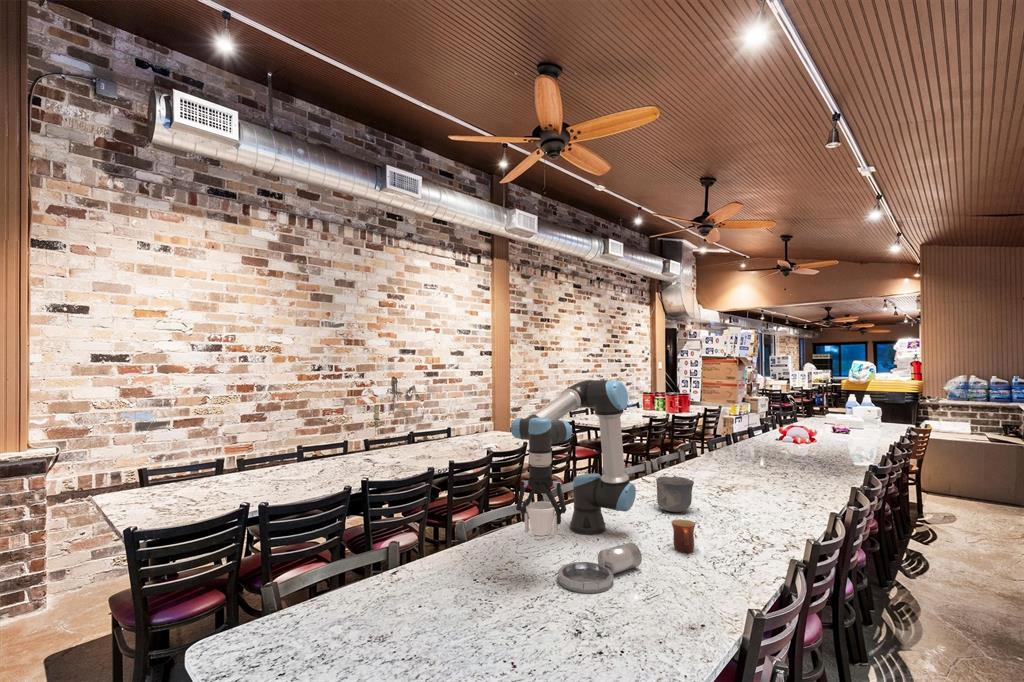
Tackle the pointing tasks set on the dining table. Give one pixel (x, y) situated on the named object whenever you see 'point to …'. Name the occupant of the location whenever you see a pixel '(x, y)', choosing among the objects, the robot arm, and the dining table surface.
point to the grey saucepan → (599, 570)
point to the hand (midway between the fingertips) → (541, 532)
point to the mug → (683, 535)
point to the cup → (541, 517)
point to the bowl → (674, 493)
